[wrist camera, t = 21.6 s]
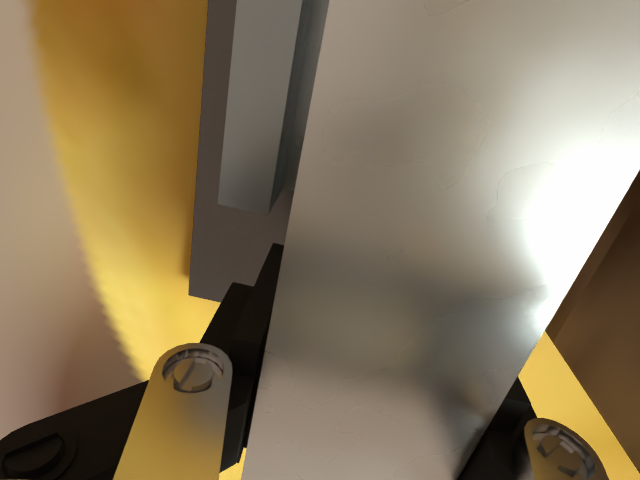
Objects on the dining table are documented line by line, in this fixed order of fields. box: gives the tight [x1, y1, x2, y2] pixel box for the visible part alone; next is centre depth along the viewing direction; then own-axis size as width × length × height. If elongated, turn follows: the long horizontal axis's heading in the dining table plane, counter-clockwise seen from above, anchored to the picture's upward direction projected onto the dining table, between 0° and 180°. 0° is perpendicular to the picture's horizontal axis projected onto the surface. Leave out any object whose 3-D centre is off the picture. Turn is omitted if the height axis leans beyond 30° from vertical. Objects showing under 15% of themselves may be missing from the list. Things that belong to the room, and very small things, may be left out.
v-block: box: [188, 0, 330, 302], centre depth 10 cm, size 18×12×5 cm, turn 168°
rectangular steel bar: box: [241, 0, 640, 480], centre depth 7 cm, size 18×4×4 cm, turn 169°
